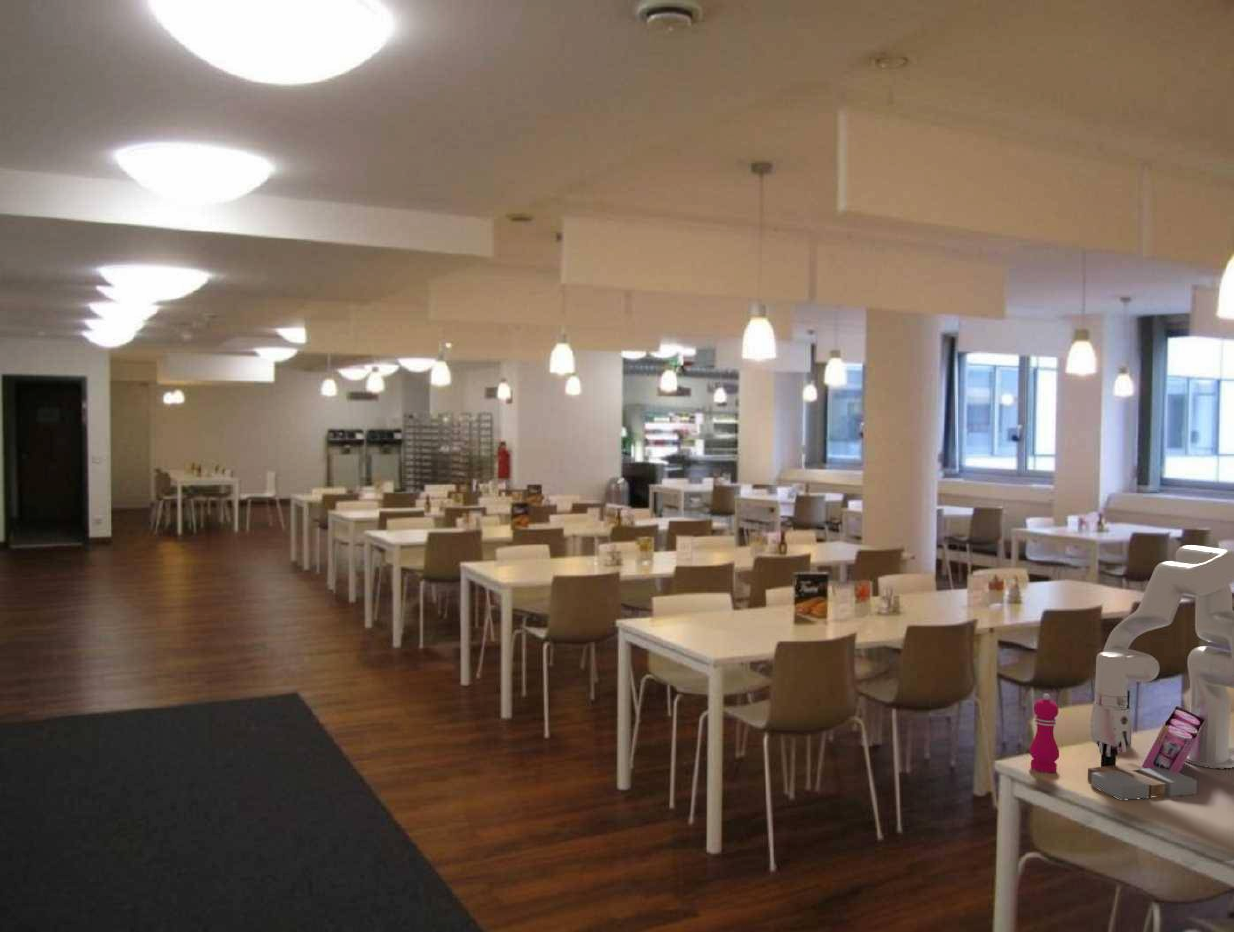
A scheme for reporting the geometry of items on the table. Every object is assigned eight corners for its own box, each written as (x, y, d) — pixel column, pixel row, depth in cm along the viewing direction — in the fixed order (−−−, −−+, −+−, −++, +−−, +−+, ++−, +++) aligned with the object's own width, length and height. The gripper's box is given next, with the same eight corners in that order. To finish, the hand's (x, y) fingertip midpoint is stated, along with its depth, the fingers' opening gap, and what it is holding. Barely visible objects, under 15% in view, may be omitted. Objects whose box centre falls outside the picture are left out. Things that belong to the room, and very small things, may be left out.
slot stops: (1163, 780, 254) (1164, 767, 253) (1196, 794, 244) (1196, 780, 244) (1091, 786, 247) (1091, 772, 247) (1121, 800, 238) (1122, 786, 238)
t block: (1131, 774, 258) (1132, 763, 258) (1180, 793, 244) (1181, 781, 244) (1087, 779, 253) (1088, 768, 252) (1135, 799, 239) (1135, 787, 239)
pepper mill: (1061, 774, 256) (1064, 698, 255) (1032, 772, 257) (1034, 696, 257) (1054, 766, 263) (1057, 691, 262) (1026, 763, 264) (1029, 689, 264)
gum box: (1171, 787, 250) (1194, 741, 247) (1139, 770, 254) (1161, 725, 251) (1184, 762, 269) (1206, 719, 266) (1154, 746, 273) (1175, 704, 270)
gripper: (1144, 707, 250) (1142, 779, 251) (1101, 692, 265) (1099, 760, 265) (1120, 708, 248) (1117, 780, 249) (1078, 693, 263) (1075, 761, 263)
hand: (1108, 770), depth 257 cm, fingers closed
